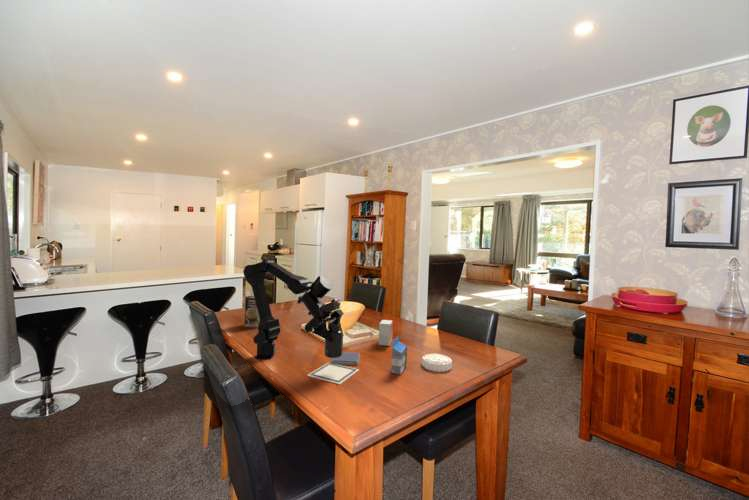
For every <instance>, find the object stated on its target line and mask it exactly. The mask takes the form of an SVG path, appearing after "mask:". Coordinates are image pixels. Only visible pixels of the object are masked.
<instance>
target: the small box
mask: <svg viewBox="0 0 749 500" xmlns="http://www.w3.org/2000/svg"><path fill="white" fill-rule="evenodd" d="M393 325H394V321H393V320H391V319H381V321H380V322H379V323H378V346H388V347H390V346H391V344H392V341H393Z"/></svg>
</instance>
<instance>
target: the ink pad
mask: <svg viewBox="0 0 749 500" xmlns="http://www.w3.org/2000/svg"><path fill="white" fill-rule="evenodd" d="M360 358H361V353H360V352H349V351H347V352H345V351H342V356H341V357H338V358H331V361H330V363H333V364H337V365H342V366H359V364H360V363H359V362H360Z"/></svg>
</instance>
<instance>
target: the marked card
mask: <svg viewBox="0 0 749 500" xmlns="http://www.w3.org/2000/svg"><path fill="white" fill-rule="evenodd" d="M359 371H360V369H357V368H355V367H350V366H347V365H338V364H333V363H331V362H326V364H324V365H322V366H320V367H319V368H317V369H315V370H314V371H312V372H310V373H308V374H307V375H306V376H307V377H310V378H313V379H317V380H321V381H325V382H329V383H333V384H337V385H341V384H343V383H344V382H345V381H347V380H349V378H351V377H352V376H354V375H355V374H356V373H357V372H359Z"/></svg>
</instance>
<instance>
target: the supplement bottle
mask: <svg viewBox="0 0 749 500" xmlns="http://www.w3.org/2000/svg"><path fill="white" fill-rule="evenodd" d="M341 328H342V324H341V322H340V323H338V322H331V323H328V322H327V330H328V331H329V333H330V335H331V336H332V338H333V342H330V341H328V340H326V339H324V346H323V347H324V349H323V350H324V351H323V353H324V356H325V358H329V359H332V358H338V357H341V356H342V352H344V351H343V350H344V349H343V346H344V336H343V335H344V333H343V332H344V331H343V330H342V331H343V332H342V331H341V330H340V329H341Z"/></svg>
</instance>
